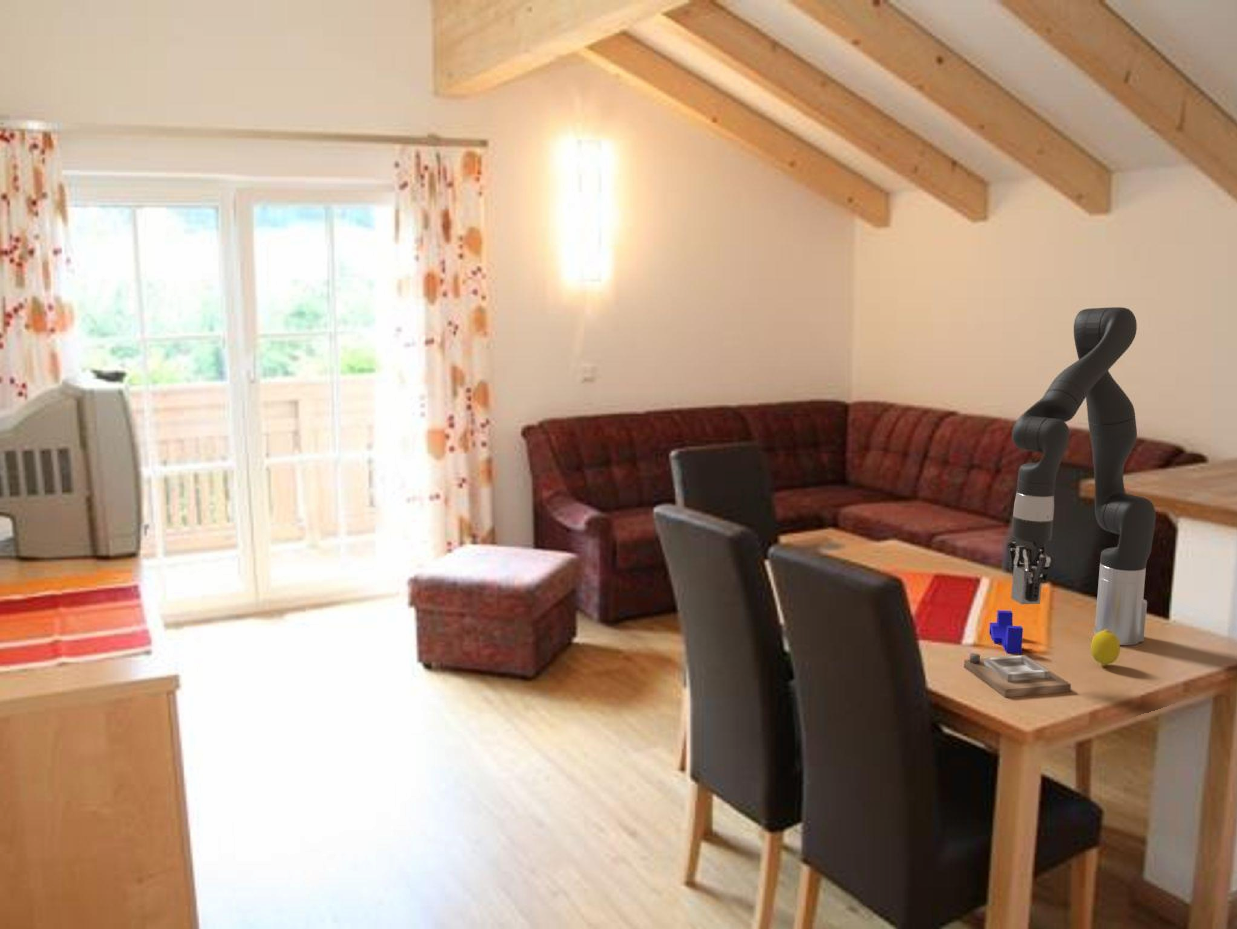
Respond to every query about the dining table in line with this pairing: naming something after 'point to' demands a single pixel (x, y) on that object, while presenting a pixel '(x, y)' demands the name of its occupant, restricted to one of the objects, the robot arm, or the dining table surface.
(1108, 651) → the lemon
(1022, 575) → the hinge block
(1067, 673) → the dining table surface
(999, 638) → the cable clip
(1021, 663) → the door panel
